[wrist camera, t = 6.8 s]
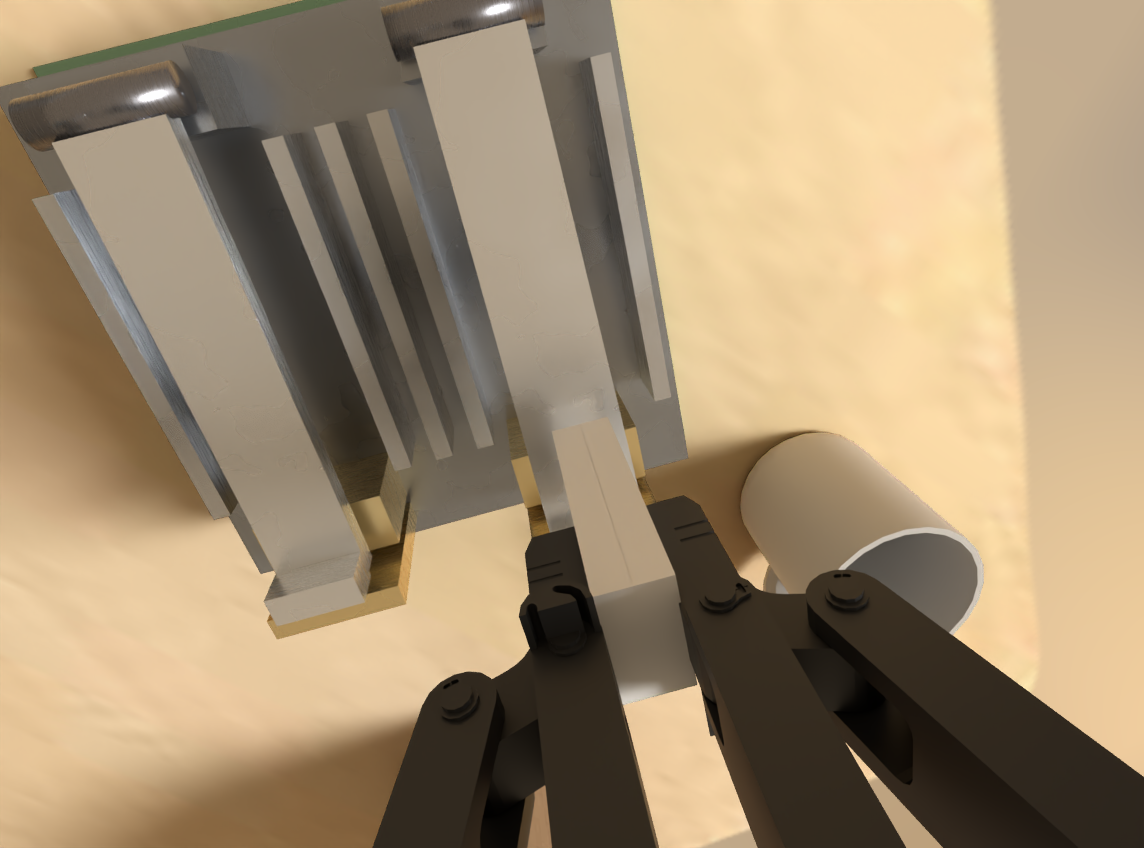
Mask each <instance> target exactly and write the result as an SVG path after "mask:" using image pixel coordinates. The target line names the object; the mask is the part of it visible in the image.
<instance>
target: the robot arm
mask: <svg viewBox="0 0 1144 848" xmlns="http://www.w3.org/2000/svg"><path fill="white" fill-rule="evenodd" d="M552 435H553V439H554V443H555V447H556V451H557V456H558V460H559V464H560V468H561V472H562V477H563V481H564V485H565V489H566V493H567V497H568V502H569V506H570V510H571V514H572V518H573V523H574V526H573V527H569V528H565V529H562V530H558V531H554V532H550V533H547V534H543V535H539V536H535V537H532V539H531V541H530V544H529V546H528V548H527V550H526V552H525V558H526V567H527V576H528V583H529V595H528V596H527V598H526V599H525V600H524V602H523V603H522V605H521V607H520V613H519V618H520V621H521V624H522V627H523V630H524V633H525V636H526V638H527V641H528V644H529V647H530V649H529V651H528V652H527V654H526V655H525V657H524V658H523V659H522V660H521V661H520V662H519V663H518V664H516V665H515V666H514V667H512V668H511V669H509V670H508V671H506V672H504V673H503V674H501V675H499V676H497V677H495V678H494V679H491V678H489V677H488V676H486V675H484V674H482V673H479V672H464V673H460V674H456V675H453V676H451V677H449V678H448V679H446V680H444V681H442V682H440V683H439V684H438V685H437V686H436V687H435V688H434V689H433V690H432V691H431V692H430V693H429V695H428V697H427V698H426V700H425V702H424V704H423V705H422V708H421V711H420V714H419V717H418V720H417V723H416V725H415V728H414V731H413V734H412V737H411V740H410V742H409V745H408V748H407V751H406V754H405V757H404V760H403V762H402V765H401V768H400V771H399V774H398V777H397V779H396V782H395V785H394V788H393V791H392V794H391V797H390V799H389V802H388V805H387V808H386V811H385V814H384V817H383V819H382V822H381V825H380V828H379V831H378V834H377V836H376V839H375V842H374V845H373V848H527V847H528V841H529V834H530V828H531V821H532V815H533V808H534V802H535V791H537V790H538V789H540V788H542V787H543V786H545V787H546V797H547V806H548V815H549V824H550V834H551V843H552V848H659V845H658V841H657V837H656V833H655V829H654V825H653V821H652V817H651V813H650V809H649V805H648V802H647V798H646V794H645V790H644V786H643V782H642V778H641V774H640V770H639V766H638V762H637V758H636V754H635V750H634V746H633V742H632V738H631V734H630V730H629V727H628V723H627V719H626V716H625V712H624V708H623V705H625V704H629V703H633V702H636V701H640V700H643V699H647V698H651V697H654V696H658V695H662V694H665V693H669V692H673V691H676V690H680V689H684V688H687V687H691V686H695V685H697V681H696V677H697V679H698V682H699V684H700V687H701V691H702V696H703V701H704V706H705V711H706V716H707V721H708V727H709V732H710V736H713V735H715V736H716V739H717V742H718V744H719V747H720V749H721V752H722V755H723V757H724V760H725V763H726V765H727V768H728V771H729V773H730V776H731V779H732V781H733V784H734V786H735V789H736V792H737V794H738V797H739V800H740V802H741V805H742V808H743V810H744V813H745V815H746V818H747V821H748V823H749V826H750V829H751V831H752V834H753V837H754V839H755V842H756V844H757V847H758V848H906V847H905V845H904V843H903V841H902V840H901V838H900V836H899V834H898V833H897V831H896V829H895V828H894V826H893V824H892V822H891V821H890V819H889V817H888V815H887V814H886V812H885V810H884V809H883V807H882V805H881V803H880V802H879V800H878V798H877V796H876V795H875V793H874V791H873V790H872V788H871V786H870V784H869V783H868V781H867V779H866V777H865V776H864V774H863V772H862V771H861V769H860V767H859V765H858V764H857V762H856V760H855V758H854V757H853V755H852V753H851V752H850V750H849V748H848V746H847V745H846V743H847V744H848V745H849V746H850V748H851V749H852V750H853V751H854V752H855V753H856V754H857V755H858V756H859V757H860V758H861V759H862V761H863V762H864V763H865V764H866V765H867V766H868V767H869V768H870V769H871V770H872V771H873V772H874V773H875V775H876V776H877V777H878V778H879V779H880V780H881V781H882V782H883V783H884V784H885V785H886V786H887V787H888V789H890V791H891V792H892V793H893V794H894V795H895V796H896V797H897V798H898V799H899V800H900V802H901V803H902V804H903V805H904V806H905V807H906V808H907V809H908V810H909V811H910V812H911V813H912V814H913V816H914V817H915V818H916V819H917V820H918V821H919V822H920V823H921V824H922V825H923V826H924V827H925V829H926V830H927V831H928V832H929V833H930V834H931V835H932V836H933V837H934V838H935V839H936V840H937V842H938V843H939V844H940V845H941V846H942V847H943V848H1144V777H1143V776H1142V775H1140V774H1139V773H1138V772H1136V771H1135V770H1134V769H1132V768H1131V767H1129V766H1128V765H1127V764H1126V763H1124V762H1123V761H1121V760H1120V759H1119V758H1117V757H1116V756H1115V755H1113V754H1112V753H1111V752H1109V751H1108V750H1107V749H1105V748H1104V747H1102V746H1101V745H1100V744H1099V743H1097V742H1096V741H1094V740H1093V739H1092V738H1090V737H1089V736H1088V735H1086V734H1085V733H1084V732H1082V731H1081V730H1080V729H1078V728H1077V727H1075V726H1074V725H1073V724H1071V723H1070V722H1069V721H1067V720H1066V719H1065V718H1063V717H1062V716H1061V715H1059V714H1058V713H1057V712H1055V711H1054V710H1053V709H1051V708H1050V707H1048V706H1047V705H1046V704H1045V703H1043V702H1042V701H1040V700H1039V699H1038V698H1036V697H1035V696H1034V695H1032V694H1031V693H1030V692H1028V691H1027V690H1026V689H1024V688H1023V687H1022V686H1020V685H1019V684H1018V683H1016V682H1015V681H1013V680H1012V679H1011V678H1009V677H1008V676H1007V675H1005V674H1004V673H1003V672H1001V671H1000V670H999V669H997V668H996V667H995V666H993V665H992V664H991V663H989V662H988V661H986V660H985V659H984V658H982V657H981V656H980V655H978V654H977V653H976V652H974V651H973V650H972V649H970V648H969V647H968V646H966V645H965V644H964V643H962V642H961V641H959V640H958V639H957V638H955V637H954V636H953V635H951V634H950V633H949V632H947V631H946V630H945V629H943V628H942V627H941V626H939V625H938V624H937V623H935V622H934V621H932V620H931V619H930V618H928V617H927V616H926V615H924V614H923V613H922V612H920V611H919V610H918V609H916V608H915V607H914V606H912V605H911V604H909V603H908V602H907V601H905V600H904V599H903V598H901V597H900V596H899V595H897V594H896V593H895V592H893V591H892V590H891V589H889V588H888V587H887V586H885V585H884V584H882V583H881V582H880V581H878V580H877V579H875V578H873V577H871V576H869V575H867V574H865V573H862V572H858V571H853V570H832V571H829V572H826V573H822V574H820V575H818V576H817V577H816V578H814V579H813V580H812V581H810V583H809V585H808V587H807V589H806V593H805V594H777V593H769V592H765V591H761V590H758V589H756V588H755V587H754V586H753V585H752V584H751V583H750V582H749V581H748V580H746V579H743V578H741V577H740V576H739V574H738V573H737V571H736V569H735V567H734V565H733V564H732V562H731V560H730V558H729V557H728V555H727V553H726V551H725V550H724V548H723V546H722V544H721V542H720V541H719V539H718V537H717V535H716V534H715V533H714V530H713V528H712V526H711V525H710V523H709V522H708V520H707V518H706V516H705V514H704V512H703V511H702V509H701V507H700V505H698V504H697V503H695V502H694V501H692V500H690V499H689V498H687V497H686V496H684V495H683V496H679V497H675V498H672V499H668V500H664V501H660V502H657V503H653V504H649V505H645V503H644V500H643V498H642V496H641V493H640V491H639V489H638V486H637V484H636V482H635V479H634V477H633V475H632V472H631V470H630V468H629V465H628V463H627V461H626V458H625V456H624V454H623V451H622V449H621V447H620V444H619V442H618V440H617V437H616V435H615V433H614V430H613V428H612V426H611V423H610V421H609V419H608V417H604V418H600V419H597V420H593V421H589V422H585V423H581V424H578V425H574V426H570V427H566V428H563V429H559V430H555V431H552ZM695 674H696V676H695ZM845 742H846V743H845Z"/></svg>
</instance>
